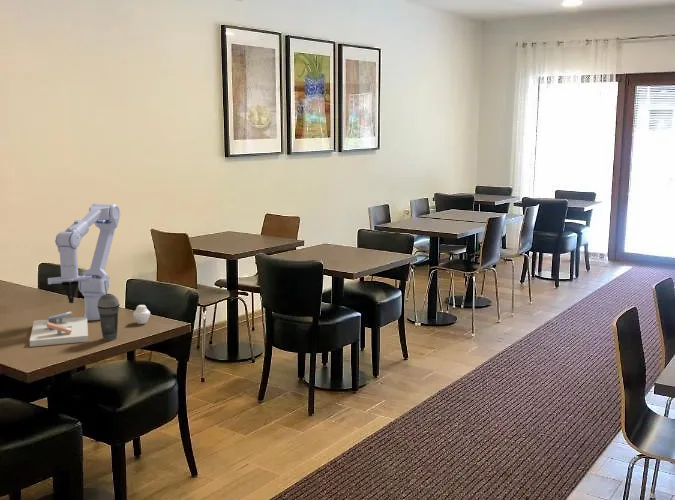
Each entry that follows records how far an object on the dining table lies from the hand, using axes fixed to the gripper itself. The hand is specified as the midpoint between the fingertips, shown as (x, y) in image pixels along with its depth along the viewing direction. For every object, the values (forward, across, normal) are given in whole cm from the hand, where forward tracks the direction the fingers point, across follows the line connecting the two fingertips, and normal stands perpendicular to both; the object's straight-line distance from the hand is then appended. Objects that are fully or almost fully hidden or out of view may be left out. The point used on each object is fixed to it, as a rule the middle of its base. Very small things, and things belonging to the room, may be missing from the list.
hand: (71, 302), depth 246 cm
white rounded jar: (+10, +24, -1) cm, 26 cm away
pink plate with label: (+5, -4, -14) cm, 15 cm away
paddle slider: (+7, -6, -6) cm, 11 cm away
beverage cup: (+10, +12, -18) cm, 24 cm away
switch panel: (+9, -4, -6) cm, 12 cm away
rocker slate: (+5, -4, +2) cm, 7 cm away
